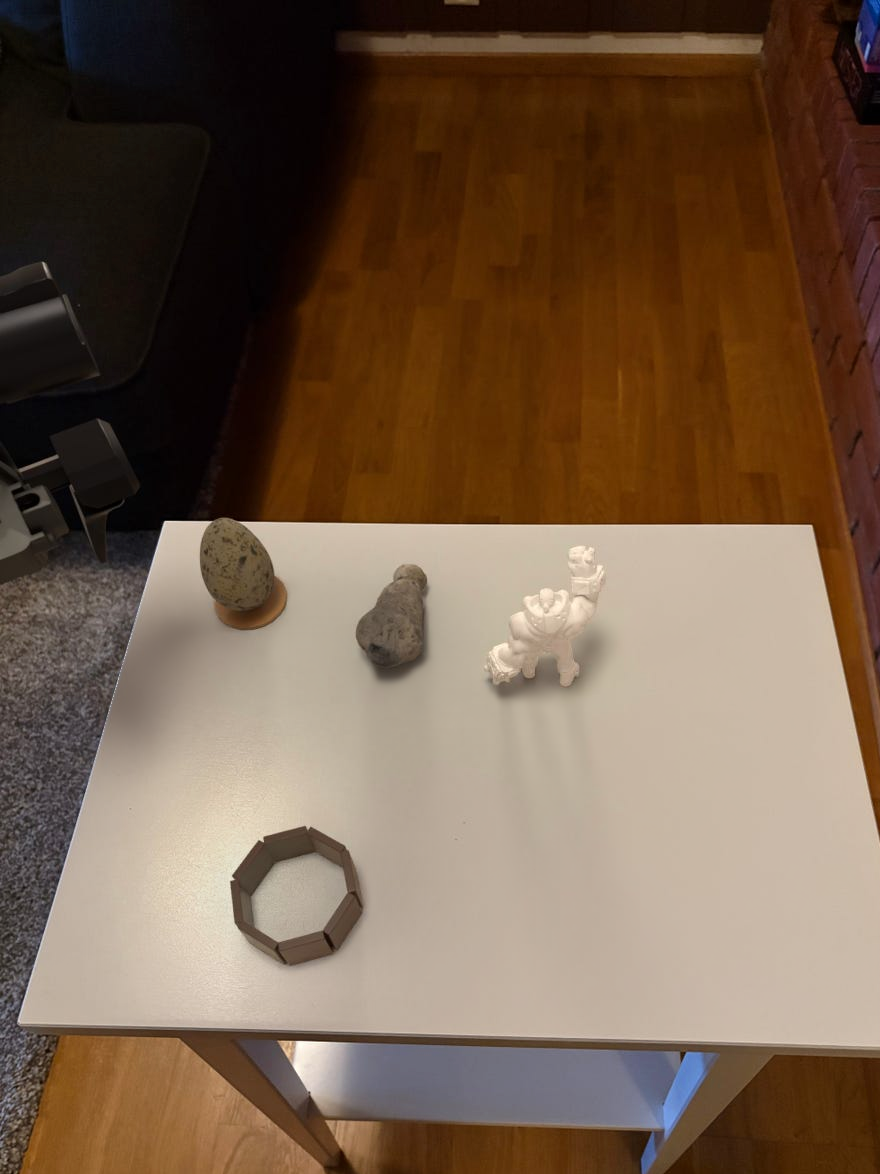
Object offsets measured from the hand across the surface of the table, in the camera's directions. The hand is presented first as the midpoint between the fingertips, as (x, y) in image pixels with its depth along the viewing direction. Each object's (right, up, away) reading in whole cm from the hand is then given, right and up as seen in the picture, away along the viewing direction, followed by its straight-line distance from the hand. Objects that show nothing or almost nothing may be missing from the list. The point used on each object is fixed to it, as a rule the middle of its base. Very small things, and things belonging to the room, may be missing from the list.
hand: (41, 584), depth 66 cm
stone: (+25, -3, +13) cm, 28 cm away
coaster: (+12, -1, +15) cm, 19 cm away
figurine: (+38, -6, +10) cm, 39 cm away
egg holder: (+19, -23, -1) cm, 30 cm away
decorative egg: (+12, -1, +15) cm, 19 cm away
